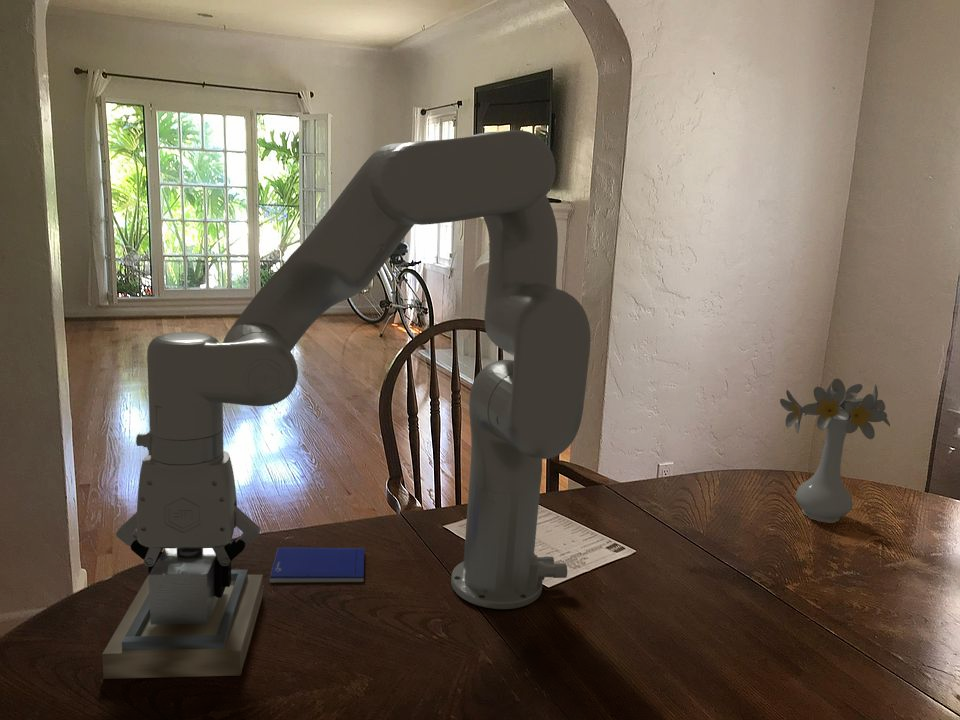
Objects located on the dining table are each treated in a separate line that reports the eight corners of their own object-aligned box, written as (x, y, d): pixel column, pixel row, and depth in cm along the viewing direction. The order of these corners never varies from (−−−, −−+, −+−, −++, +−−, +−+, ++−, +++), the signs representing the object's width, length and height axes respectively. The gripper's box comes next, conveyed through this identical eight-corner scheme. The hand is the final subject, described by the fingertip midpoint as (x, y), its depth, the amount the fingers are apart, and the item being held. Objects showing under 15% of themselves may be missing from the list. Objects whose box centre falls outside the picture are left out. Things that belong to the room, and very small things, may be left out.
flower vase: (752, 504, 136) (773, 373, 130) (837, 501, 140) (862, 374, 135) (796, 536, 124) (822, 393, 118) (889, 532, 128) (918, 394, 122)
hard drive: (269, 575, 98) (363, 575, 100) (278, 546, 106) (364, 546, 108) (269, 585, 99) (363, 585, 101) (277, 555, 107) (364, 556, 108)
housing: (207, 624, 81) (206, 568, 80) (150, 624, 80) (148, 567, 79) (227, 577, 91) (226, 526, 89) (176, 577, 90) (174, 525, 89)
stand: (262, 595, 95) (262, 567, 95) (240, 675, 80) (240, 642, 79) (149, 596, 93) (147, 568, 92) (103, 678, 78) (101, 645, 77)
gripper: (91, 456, 77) (100, 611, 81) (262, 458, 79) (262, 608, 83) (116, 432, 84) (123, 575, 88) (272, 435, 86) (272, 574, 90)
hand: (191, 590), depth 85 cm, fingers closed on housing, 6 cm apart
